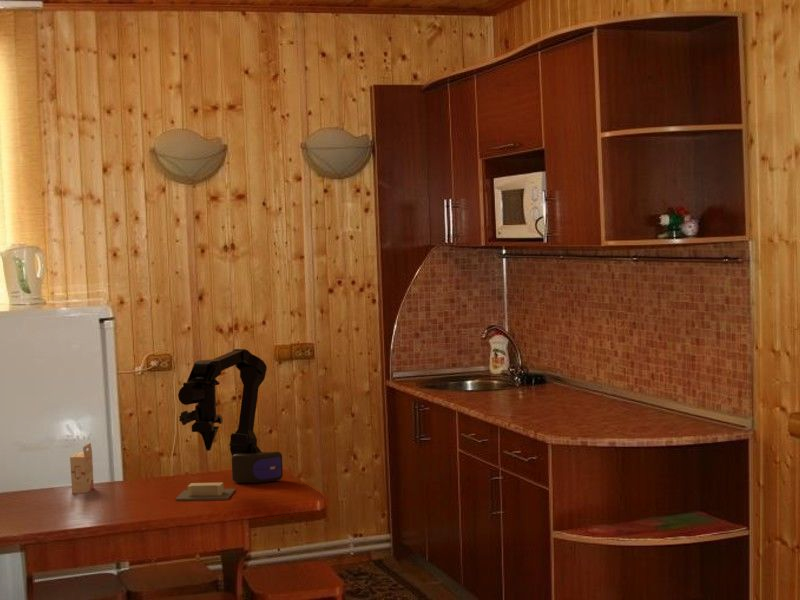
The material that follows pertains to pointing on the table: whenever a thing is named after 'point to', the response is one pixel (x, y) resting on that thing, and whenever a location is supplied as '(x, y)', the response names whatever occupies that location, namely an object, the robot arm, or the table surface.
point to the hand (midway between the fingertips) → (208, 450)
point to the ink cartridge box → (82, 471)
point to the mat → (223, 496)
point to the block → (205, 489)
